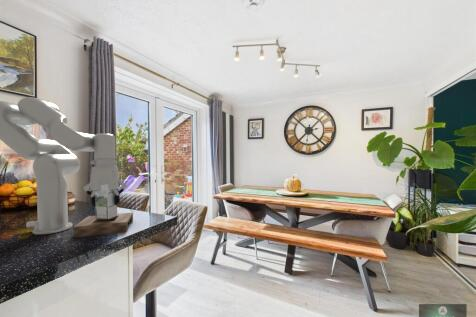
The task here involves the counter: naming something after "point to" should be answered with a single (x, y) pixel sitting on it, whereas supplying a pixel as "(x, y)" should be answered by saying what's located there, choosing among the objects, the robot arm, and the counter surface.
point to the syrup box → (105, 203)
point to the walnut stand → (102, 225)
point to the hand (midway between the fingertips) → (106, 204)
